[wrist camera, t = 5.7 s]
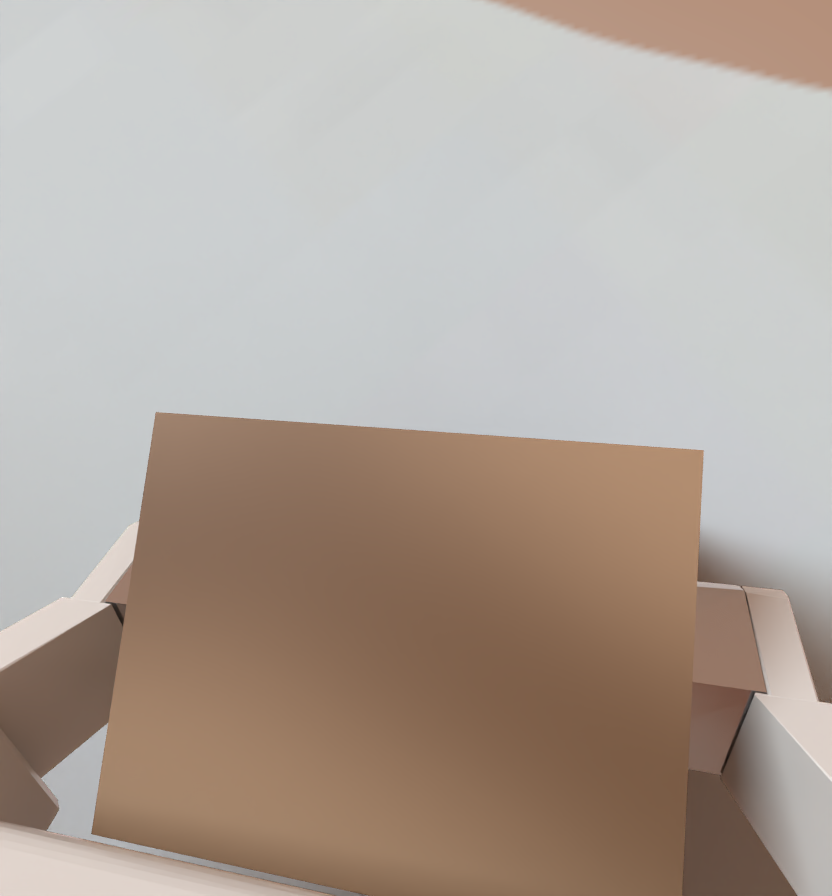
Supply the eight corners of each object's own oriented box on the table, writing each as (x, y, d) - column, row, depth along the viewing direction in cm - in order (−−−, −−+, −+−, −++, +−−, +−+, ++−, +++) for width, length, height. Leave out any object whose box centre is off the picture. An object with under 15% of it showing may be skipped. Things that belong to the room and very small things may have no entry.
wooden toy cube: (612, 743, 13) (678, 964, 6) (313, 695, 14) (91, 833, 7) (627, 499, 14) (703, 449, 7) (339, 475, 15) (155, 412, 8)
